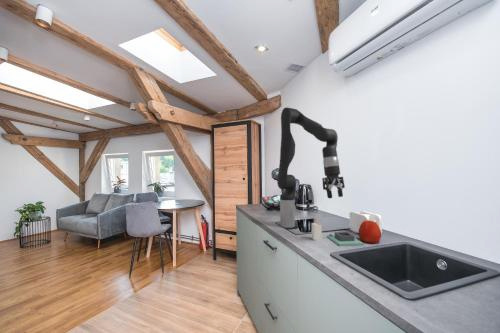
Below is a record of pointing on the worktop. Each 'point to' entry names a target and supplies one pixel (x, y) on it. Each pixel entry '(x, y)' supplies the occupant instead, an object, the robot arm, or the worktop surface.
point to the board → (344, 239)
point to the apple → (369, 232)
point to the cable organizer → (358, 218)
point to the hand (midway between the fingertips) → (335, 197)
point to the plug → (316, 231)
